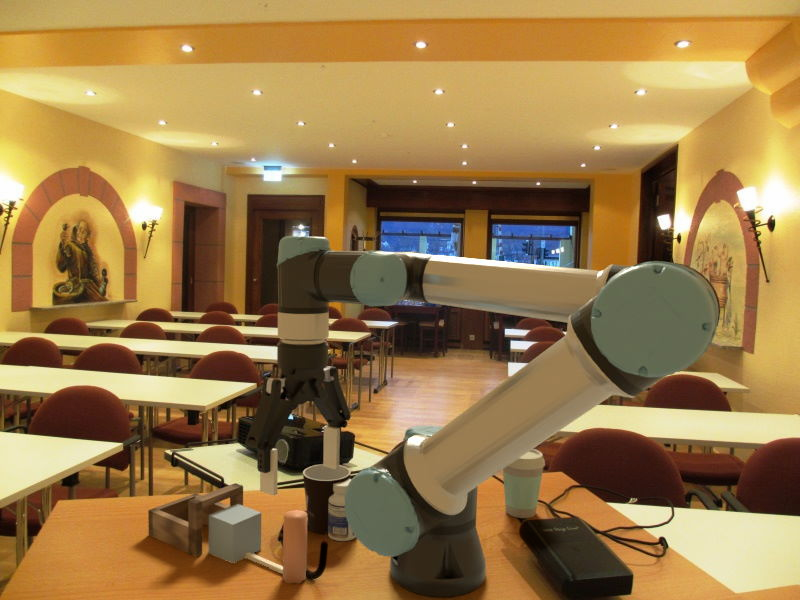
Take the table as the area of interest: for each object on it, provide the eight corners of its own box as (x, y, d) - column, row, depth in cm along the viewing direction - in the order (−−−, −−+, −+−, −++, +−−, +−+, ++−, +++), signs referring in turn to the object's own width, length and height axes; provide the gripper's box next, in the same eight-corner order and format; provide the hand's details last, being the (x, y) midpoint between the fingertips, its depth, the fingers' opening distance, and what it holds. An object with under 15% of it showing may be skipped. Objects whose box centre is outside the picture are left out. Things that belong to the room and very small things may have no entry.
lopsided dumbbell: (316, 573, 99) (317, 511, 99) (289, 589, 94) (289, 524, 94) (237, 540, 110) (237, 483, 109) (208, 553, 105) (208, 494, 104)
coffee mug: (342, 538, 111) (343, 482, 110) (295, 533, 112) (296, 478, 112) (358, 511, 122) (359, 461, 121) (315, 507, 124) (316, 457, 123)
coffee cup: (550, 519, 122) (553, 458, 121) (509, 523, 120) (512, 461, 119) (531, 502, 130) (533, 445, 129) (492, 505, 128) (494, 447, 127)
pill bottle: (347, 526, 117) (348, 474, 116) (363, 537, 112) (364, 483, 112) (322, 533, 113) (322, 480, 113) (337, 544, 109) (338, 489, 108)
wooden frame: (242, 535, 112) (243, 485, 111) (196, 556, 104) (196, 503, 103) (195, 516, 119) (195, 469, 118) (148, 535, 111) (148, 485, 110)
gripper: (337, 330, 107) (336, 453, 108) (219, 347, 86) (219, 498, 88) (373, 334, 103) (371, 462, 104) (257, 353, 82) (257, 512, 84)
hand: (301, 479), depth 96 cm, fingers open, 13 cm apart
